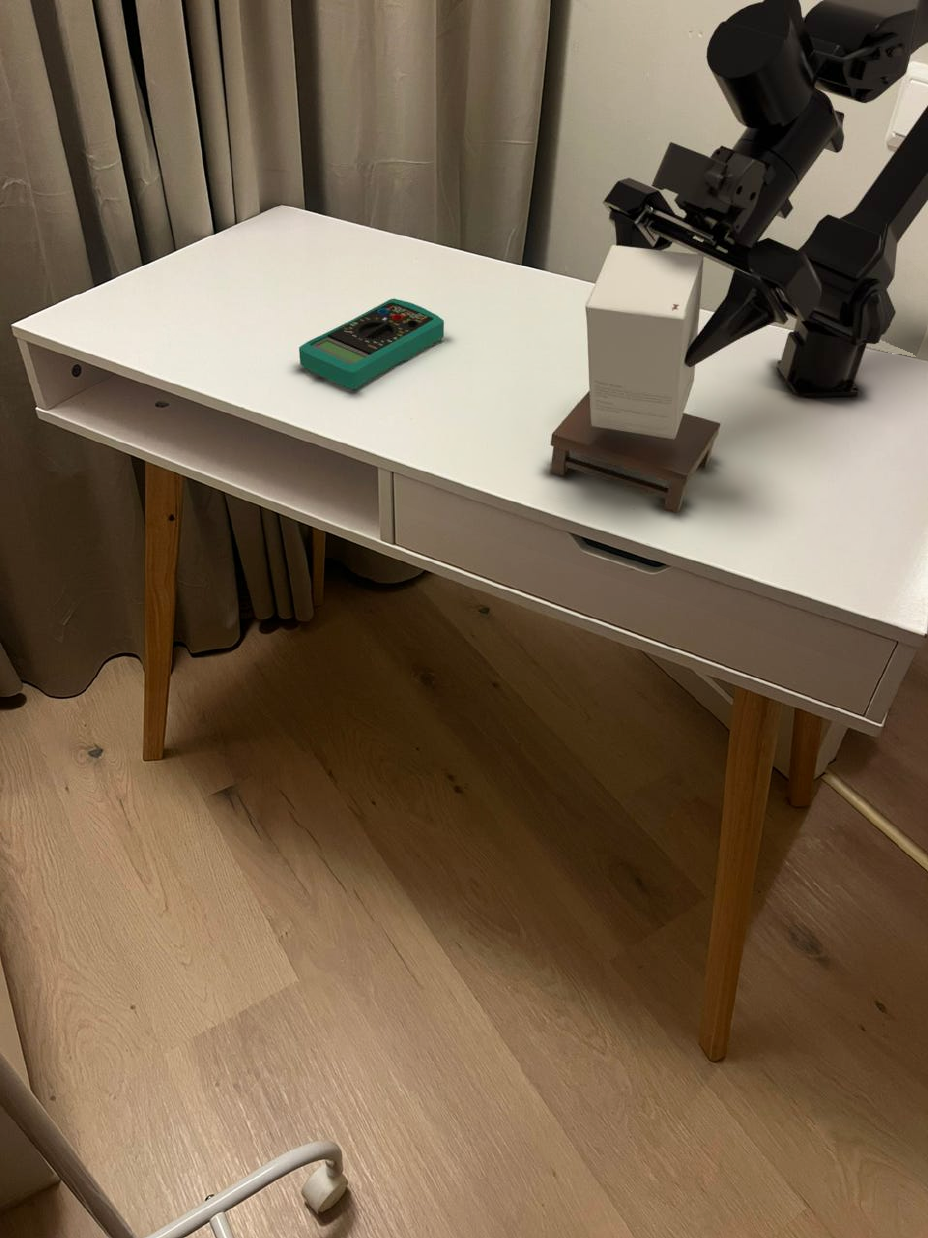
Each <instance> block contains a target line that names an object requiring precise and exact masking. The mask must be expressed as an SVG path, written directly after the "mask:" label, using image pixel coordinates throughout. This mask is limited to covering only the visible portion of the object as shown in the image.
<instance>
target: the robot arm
mask: <svg viewBox="0 0 928 1238" xmlns="http://www.w3.org/2000/svg"><path fill="white" fill-rule="evenodd" d="M802 12H803V11H802V5H801V2H800V0H762V1H758V2H755V3H752V4H749V5H746V6H745V7H743V8H741V9H739V10H737V11H735V13H733V14H731V15H730V16H729V17H728V18H727V19H726V20H725V21H721V22H720V23H719V24H718V25H717V27H716V28H715V30H714V31H713V33H712V35H711V37H710V38H709V41H708V43H707V44H708V45H707V48H706V57H705V58H706V62H707V66H708V67H709V69H710V71H711V73H712V75H713V78H715V81H716V82H717V85H718V86H719V88H720V91H721V92H722V94H723V96H724V98H725V100H726V102H727V104H728V106H729V108H730V110H731V112H732V114H733V116H734V117H735V119H736V120H737V122H738V123H739V124H741V125H742V126H743V127H746V128H745V129H744V131H743V133H742V134H741V135H740V137H739V138H738V139H737V141H736V142H735V143H734V145H733V146H732V148H730V147H726V146H724V145H721V146H720V147H718V148H716V149H715V150H714V151H713V152H712V154H711V155H710V156H708V155H706V154H704V153H700V152H697V151H696V150H692V149H690V148H688V147H685V146H682V145H680V144H678V143H674V142H672V141H670V142H669V143H668V145H667V148H666V150H665V153H664V155H663V157H662V160H661V162H660V164H659V166H658V169H657V171H656V174H655V176H654V179H653V180H652V183H651V186H650V185H647V184H645V183H642V182H641V181H638V180H635V179H633V178H631V177H627V178H624V179H620V180H617V181H616V182H615V184H614V185H613V186H612V187H611V189H610V191H609V192H608V193H607V195H606V197H605V198H604V200H603V201H602V204H603V206H604V207H605V208H606V209H607V211H608V213H609V214H608V221H609V222H610V223H611V225H612V226H613V227H614V231H615V245H617V246H625V247H634V248H643V249H652V250H661V251H665V250H667V249H669V248H670V247H671V246H672V244H673V243H674V244H676V245H678V246H680V247H682V248H684V249H687V250H689V251H691V252H692V253H694V254H699V255H703V258H706V259H708V260H711V261H712V262H714V263H716V264H719V265H721V266H722V267H725V268H727V269H729V270H731V271H733V273H732V276H731V279H730V282H729V285H728V289H727V292H726V295H725V296H724V298H723V299H722V302H721V303H720V304H719V305H718V306H717V308H716V309H715V311H714V312H713V313H712V315H711V316H710V318H709V319H708V321H707V322H706V323H705V324H704V326H703V327H702V328H701V330H700V331H699V332H698V335H697V337H696V338H695V340H694V341H693V342H692V344H691V346H690V347H689V349H688V351H687V353H686V356H685V361H684V363H685V365H686V366H688V367H692V366H694V365H695V366H696V365H698V364H699V363H700V362H703V361H704V360H705V359H707V358H709V357H711V356H713V355H714V354H716V353H718V352H719V351H721V350H723V349H725V348H727V347H728V346H730V345H732V344H733V343H735V342H737V341H739V340H740V339H742V338H744V337H746V336H748V335H751V334H752V333H755V332H757V331H760V330H761V329H763V328H765V327H768V326H769V325H772V324H775V323H777V324H779V325H783V326H784V325H786V324H787V322H788V321H789V317H791V318H793V319H795V320H796V321H795V325H794V328H793V331H789V332H788V334H787V336H786V337H787V338H786V340H785V344H784V347H783V351H782V354H781V359H779V360H777V362H776V368H777V369H778V370H779V372H780V373H781V375H782V377H783V378H784V380H785V381H786V383H787V385H788V386H789V388H790V389H791V391H792V392H793V394H794V395H795V397H796V396H797V397H799V398H814V397H815V398H816V397H821V398H822V397H857V396H859V395H860V393H861V389H860V387H859V386H858V384H857V383H856V382H855V381H856V377H857V375H858V372H859V368H860V367H861V363H862V360H863V357H864V354H865V350H866V348H867V345H868V344H869V345H876V344H878V343H880V341H881V337H882V336H883V335H885V334H886V333H887V331H888V329H889V328H890V326H891V324H892V321H893V320H894V318H895V315H896V312H897V311H896V309H895V305H893V302H892V301H893V300H892V299H891V296H890V294H889V292H888V288H889V287H890V285H891V284H892V282H893V280H894V279H895V275H896V263H897V253H898V252H897V251H898V245H899V241H900V240H901V239H902V237H903V235H904V234H905V233H906V232H907V230H908V229H909V228H910V226H911V224H913V222H914V221H915V219H916V218H917V216H919V213H920V212H921V211H922V209H923V208H924V207H925V205H926V204H927V202H928V105H926V107H925V108H924V110H923V111H922V112H921V114H920V115H919V117H918V118H917V120H916V121H915V122H914V124H913V125H912V127H911V128H910V129H909V131H908V132H907V134H906V136H905V137H904V138H903V139H902V141H901V142H900V144H899V145H898V147H897V148H896V149H895V151H894V152H893V154H892V155H891V156H890V158H889V160H888V161H887V162H886V164H885V165H884V166H883V168H882V170H880V172H879V173H878V175H877V177H876V178H875V180H874V181H873V182H872V184H871V185H870V186H869V188H868V190H867V191H866V192H865V194H864V195H863V197H862V198H861V200H860V201H859V202H858V204H857V205H856V207H855V208H854V209H853V210H852V211H850V212H849V213H847V214H845V215H843V216H841V217H836V216H834V215H831V214H826V215H825V216H824V217H822V218H821V219H819V221H818V222H817V224H816V225H815V227H814V229H813V231H812V232H811V233H810V235H809V237H808V238H807V239H806V241H805V242H804V243H803V244H802V245H801V246H800V247H799V248H798V249H796V248H793V247H791V246H789V245H786V244H784V243H782V242H780V241H777V240H775V239H772V238H771V237H766V238H763V239H761V237H762V236H763V235H764V233H765V232H766V231H767V229H768V228H769V226H770V225H771V224H772V222H773V221H774V220H775V218H776V217H778V218H781V219H783V220H786V219H787V217H788V216H789V215H790V214H791V212H792V211H793V209H794V206H793V205H792V202H791V200H790V199H789V198H791V196H792V194H793V193H794V191H795V190H796V189H797V187H798V186H799V185H800V183H801V182H802V181H803V180H804V179H805V176H806V175H807V173H808V172H809V171H810V170H811V168H812V166H813V165H814V164H815V163H816V161H817V159H818V158H819V157H820V156H821V154H822V153H823V151H824V150H827V151H830V152H833V153H836V154H838V153H840V152H841V151H842V150H843V147H844V141H845V134H844V128H843V127H844V121H845V120H844V119H845V113H844V112H842V111H839V110H836V109H835V107H834V105H833V102H832V100H831V99H830V97H829V96H828V95H827V93H829V94H832V95H835V96H838V97H840V98H841V97H842V98H844V99H848V100H851V101H854V102H858V103H861V104H868V103H870V102H873V101H875V100H876V99H878V98H879V97H880V96H882V94H884V93H885V92H886V91H888V89H890V88H891V87H892V86H893V85H894V84H896V83H897V82H898V81H899V80H900V79H902V78H903V77H904V76H905V75H906V74H907V73H908V72H907V71H908V67H909V64H910V60H911V56H912V55H913V54H914V53H916V51H917V50H919V49H920V48H922V47H923V46H924V45H927V44H928V0H820V1H819V2H818V3H817V4H815V5H814V6H813V7H812V8H810V9H809V11H808V12H807V13H806V14H805V16H803V13H802ZM825 92H826V93H825ZM664 190H667V191H669V192H671V193H674V194H676V196H675V198H674V199H673V201H674V203H675V204H676V206H677V207H678V208H679V210H682V211H683V212H684V213H685V215H684V216H683V217H682V216H680V215H678V214H676V213H675V212H674V210H673V208H672V207H671V205H670V204H669V203H668V201H667V199H666V198H665V197H664V196H663V194H662V192H661V191H664ZM694 237H695V238H694ZM760 239H761V240H760ZM788 316H789V317H788Z"/></svg>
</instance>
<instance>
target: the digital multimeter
mask: <svg viewBox="0 0 928 1238" xmlns="http://www.w3.org/2000/svg"><path fill="white" fill-rule="evenodd" d="M444 331H445V320H444V319H443V318H441V317H440V316H438V314H435V313H434V312H432V311H430V310H428V309H426V308H425V307H423V306H420V305H418V304H415V303H413V302H410V301H406V300H402V299H397V298H390V299H389V300H388V299H387V300H386V301H384V302H383V303H380V304H378V305H377V306H374V307H373V308H371V309H370V310H368V311H366V312H364V313H362V314H360V315H358V316H357V317H354V318H352V319H351V320H348V321H346V322H344V323H343V324H341V325H339V326H337V327H335V328H333V329H331V330H329V331H327V332H325V333H323V334H321V335H318V336H317V337H315V338H312V339H310V340H308V341H306V342H305V343H303V344H301V345H300V346H299V347H298V353H299V365H300V366H301V367H303V368H305V369H307V370H308V371H310V372H312V373H314V374H316V375H318V376H320V377H321V378H324V379H326V380H327V381H331V382H333V383H335V384H337V385H339V386H343V387H345V388H347V389H350V390H355V389H357V388H359V387H360V386H362V385H364V384H366V383H368V381H371V380H373V379H374V378H376V377H379V375H381V374H383V373H384V372H386V371H388V370H389V369H391V368H393V367H395V366H397V365H398V364H400V363H402V362H403V361H406V360H407V359H409V358H411V357H412V356H414V355H416V354H418V353H419V352H421V351H423V350H425V349H426V348H428V347H430V346H432V345H433V344H435V343H436V342H439V341H440V340H441V339H443V338H444V333H445V332H444Z"/></svg>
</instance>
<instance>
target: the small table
mask: <svg viewBox="0 0 928 1238" xmlns="http://www.w3.org/2000/svg"><path fill="white" fill-rule="evenodd" d="M720 428H721V423H720V422H717V421H714V420H710V419H707V418H704V417H700V416H696V415H693V414H689V413H686V412H684V413H683V416H682V419H681V422H680V425H679V428H678V431H677V434H676V438H675V439H668V438H662V437H656V436H650V435H644V434H638V433H632V432H626V431H620V430H614V429H608V428H601V427H594V426H592V425H591V409H590V393H589V390H588V391H587V392H586V393H585V395H584V396H583V397H582V398H581V399H580V401H579V402H578V403H577V404H576V405H575V406H574V408H573V409H571V411H570V412H569V413H568V415H567V416H566V417H565V418H564V419H563V420H562V421H561V423H560V424H559V425H558V426H557V427H556V428H555V429H554V430H553V432H551V436H550V446H551V447H552V456H551V464H550V473H551V474H553V475H554V474H555V475H558V476H560V477H564V476H565V474H566V473H567V472H568V471H569V469H571V470H574V471H578V472H581V473H584V474H588V475H589V476H590V475H591V476H593V477H597V478H600V479H603V480H606V481H608V482H609V481H610V482H613V483H615V484H619V485H621V486H626V487H628V488H632V489H635V490H638V491H642V492H645V493H648V494H650V495H654V496H657V497H660V498H664V499H665V502H664V507H663V509H664V510H667V511H670V512H674V513H678V512H679V511H680V509H681V508H682V506H683V504H684V503H683V502H684V499H685V493H686V489H687V485H688V483H689V482H690V480H691V478H692V476H693V475H694V473H695V472H696V470H697V469H698V468H701V469H703V470H704V469H706V468H707V466H708V464H709V463H710V459H711V454H712V451H713V447H714V443H715V441H716V439H717V437H718V435H719V432H720ZM571 453H574V454H577V455H580V456H583V457H587V458H589V459H593V460H596V461H599V462H603V463H606V464H608V465H609V464H610V465H612V466H616V467H620V468H622V469H625V470H629V471H632V472H635V473H638V474H642V475H645V476H648V477H652V478H654V479H658V480H661V481H665V482H667V483H668V487H667V486H664V485H661V484H658V483H655V482H651V481H648V480H644V479H642V478H640V477H639V478H638V477H636V476H633V475H629V474H626V473H623V472H619V471H617V470H613V469H610V468H607V467H603V466H600V465H597V464H593V463H590V462H587V461H584V460H582V459H581V460H580V459H578V458H574V457H571Z"/></svg>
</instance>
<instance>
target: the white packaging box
mask: <svg viewBox="0 0 928 1238" xmlns="http://www.w3.org/2000/svg"><path fill="white" fill-rule="evenodd" d="M703 271H704V256H703V255H699V254H697V253H689V252H678V251H668V250H652V249H643V248H634V247H625V246H617V245H616V244H612V245H611V246H610V248H609V251H608V253H607V256H606V259H605V261H604V263H603V266H602V268H601V270H600V272H599V275H598V277H597V279H596V282H595V284H594V286H593V288H592V291H591V292H590V294H589V297H588V298H587V301H586V303H585V304H584V305H585V306H584V309H585V318H586V335H587V336H586V337H587V339H586V340H587V366H588V389H589V390H588V391H589V393H590V409H591V425H592V426H594V427H601V428H608V429H614V430H620V431H626V432H632V433H638V434H644V435H650V436H656V437H662V438H668V439H675V438H676V434H677V431H678V428H679V425H680V422H681V419H682V416H683V413H685V411H686V410H685V409H686V406H687V403H688V400H689V397H690V394H691V391H692V388H693V385H694V382H695V376H696V375H695V374H696V373H695V372H696V365H694V366H692V367H688V366H686V365H685V363H684V361H685V356H686V353H687V351H688V349H689V347H690V346H691V344H692V342H693V341H694V340H695V338H696V337H697V335H698V334H699V321H700V311H701V296H702V284H703Z"/></svg>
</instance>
